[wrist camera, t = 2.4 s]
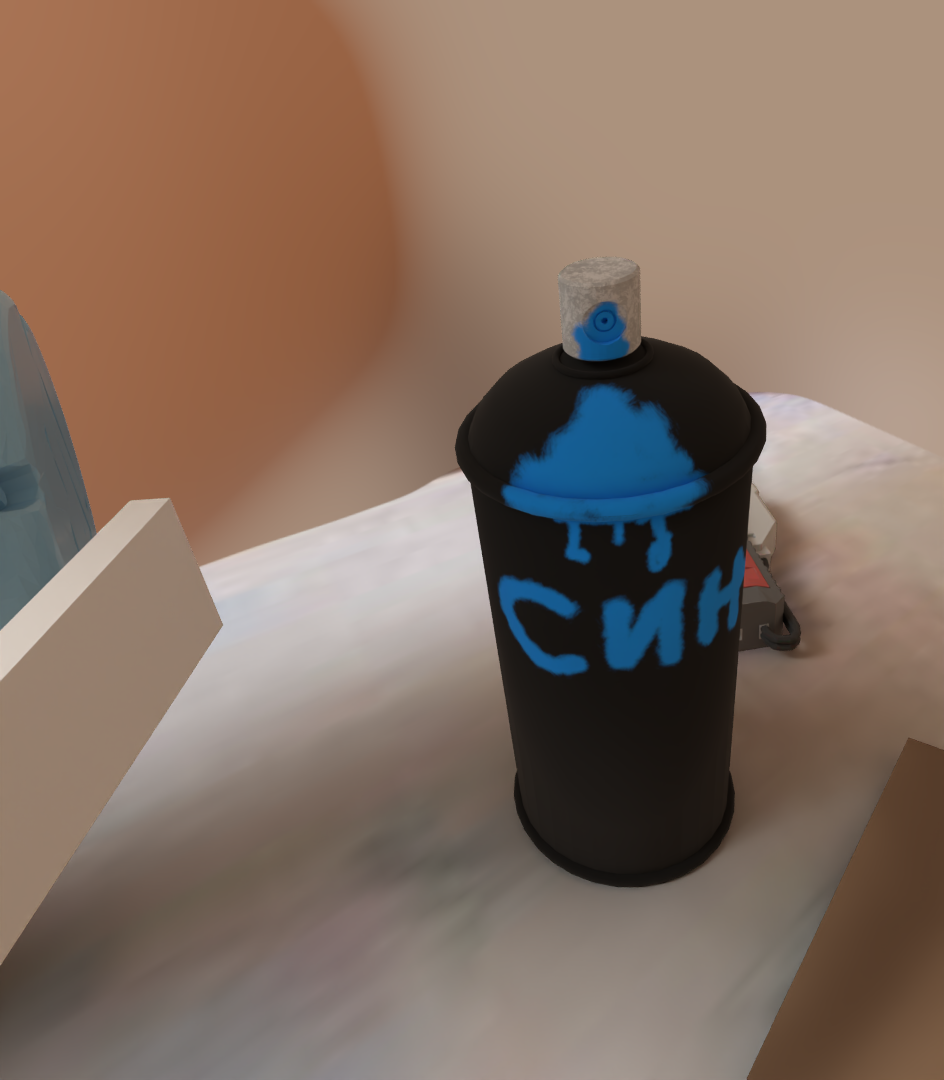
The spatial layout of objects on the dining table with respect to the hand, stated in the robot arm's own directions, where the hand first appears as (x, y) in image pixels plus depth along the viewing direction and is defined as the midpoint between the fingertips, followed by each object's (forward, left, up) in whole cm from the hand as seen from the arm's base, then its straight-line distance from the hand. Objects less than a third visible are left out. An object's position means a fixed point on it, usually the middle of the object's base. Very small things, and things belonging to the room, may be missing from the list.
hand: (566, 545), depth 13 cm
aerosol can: (-5, +9, -19) cm, 21 cm away
